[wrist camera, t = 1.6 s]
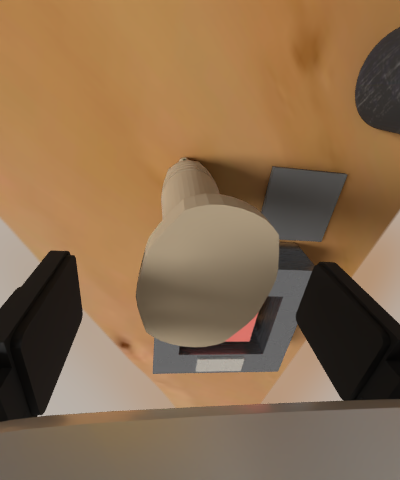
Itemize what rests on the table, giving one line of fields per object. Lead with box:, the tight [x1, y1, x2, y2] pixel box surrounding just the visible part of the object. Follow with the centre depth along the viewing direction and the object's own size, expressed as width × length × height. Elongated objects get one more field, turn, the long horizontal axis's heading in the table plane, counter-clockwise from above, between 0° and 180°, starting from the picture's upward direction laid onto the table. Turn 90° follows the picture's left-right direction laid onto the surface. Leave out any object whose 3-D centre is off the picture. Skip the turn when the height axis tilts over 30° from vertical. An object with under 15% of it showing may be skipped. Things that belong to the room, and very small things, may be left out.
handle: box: [136, 157, 279, 347], centre depth 16 cm, size 5×6×15 cm
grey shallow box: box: [153, 242, 315, 374], centre depth 27 cm, size 14×14×5 cm
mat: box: [261, 166, 347, 242], centre depth 25 cm, size 7×7×1 cm
